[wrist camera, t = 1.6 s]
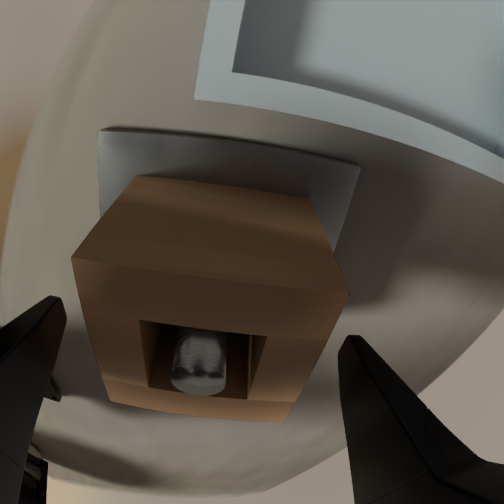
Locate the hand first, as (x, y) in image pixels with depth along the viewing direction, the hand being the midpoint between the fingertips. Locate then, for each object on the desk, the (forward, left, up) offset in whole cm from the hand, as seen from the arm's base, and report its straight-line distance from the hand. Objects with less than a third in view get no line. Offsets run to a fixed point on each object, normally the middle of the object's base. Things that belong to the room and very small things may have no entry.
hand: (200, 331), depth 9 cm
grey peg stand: (0, 0, -4) cm, 4 cm away
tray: (+12, -5, -4) cm, 14 cm away
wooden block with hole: (-1, 0, -4) cm, 4 cm away
